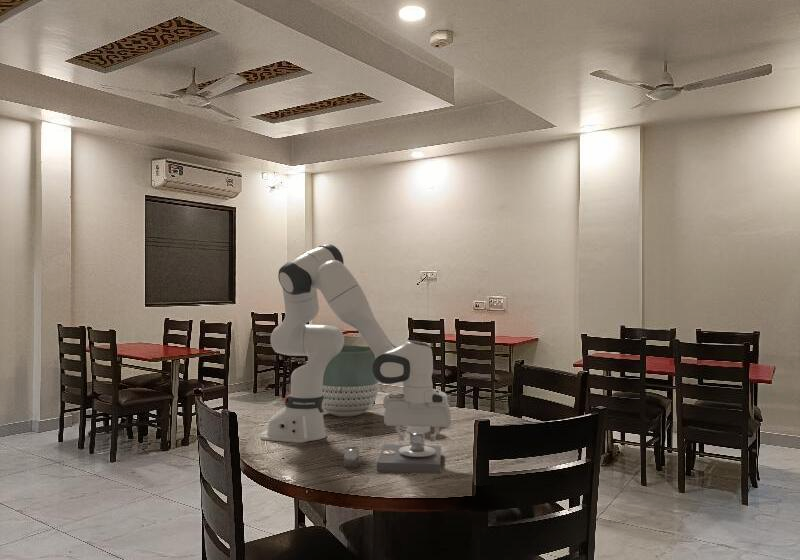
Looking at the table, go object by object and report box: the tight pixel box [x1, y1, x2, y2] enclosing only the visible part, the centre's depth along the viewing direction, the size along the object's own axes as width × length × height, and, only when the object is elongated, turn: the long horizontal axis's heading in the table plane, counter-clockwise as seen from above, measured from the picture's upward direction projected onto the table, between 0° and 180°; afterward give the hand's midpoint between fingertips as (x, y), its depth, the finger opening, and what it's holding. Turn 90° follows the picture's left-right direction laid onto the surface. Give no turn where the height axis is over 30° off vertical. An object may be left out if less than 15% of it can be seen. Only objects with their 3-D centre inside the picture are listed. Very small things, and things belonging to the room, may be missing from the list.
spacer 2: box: [409, 432, 426, 452], centre depth 188 cm, size 4×4×5 cm
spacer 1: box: [343, 446, 360, 470], centre depth 183 cm, size 4×4×5 cm
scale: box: [376, 443, 442, 474], centre depth 188 cm, size 18×20×4 cm
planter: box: [323, 344, 380, 418], centre depth 254 cm, size 27×27×27 cm
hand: (417, 440), depth 188 cm, fingers open, 8 cm apart
